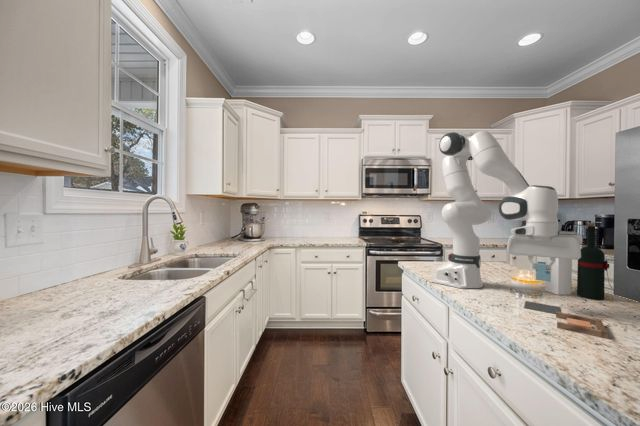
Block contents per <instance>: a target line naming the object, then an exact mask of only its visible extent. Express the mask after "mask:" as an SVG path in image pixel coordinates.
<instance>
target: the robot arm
mask: <svg viewBox="0 0 640 426" xmlns="http://www.w3.org/2000/svg"><path fill="white" fill-rule="evenodd" d="M439 151H440V152H441V154H442V155H445V157H444V158H443V159H442V161H441V169H442V176H443V181H444V184H445V188H446V192H447V194H448V195H449V196H450V197H451V198H453V199H454V201H453V202H448V203H446V204H444V206H443V207H442V209H441V217H442V220H443V221H444V223H446V224H447V225H448V228H449V230H450V232H451V236H452V252H450V253H449V254H448V255H447V259H448V260H446V262H444V263H443V264H441V265H439V266H438V267H437V268H436V270H435V274H434V275H433V276H431V277H430V278H429V279H430V280H429V281H430V282H431V283H435V284H440V285H443V286H444V285H445V286H449V287H452V288H457V289H463V290H464V289H481V288H483V287H484V284H483V280H482V277H481V266H482V265H481V264H482V263H481V262H482V259H481V254H480V247H481V246H480V245H481V244H480V242H481V241H480V238H479V236H478V235H476V233H475V232H474V229H473V227H474V226H475V225H476V226H479V225H482V224H485V223H486V222H488V221H489V220H490V219H491V216H492V210H491V209H490V207H489V206H488V205H487V203H485V202H483V200H482V199H481V198H480V195H478V193H477V192H476V190H475V187H474V185H473V182H472V180H471V176H470V172H469V169H468V165H467V161H472V160H473V162H474V164H475V167H476V168H477V169H478V170H479V171H480V172H481V173H482V174H483V175H487V176H489V177H493V178H495V179H497V180H499V181H501V182H502V183H504V184H505V185H506V186H507V187H508V189H509V190H510V192H511V193H512V194H511V195H509V196H506V197H504V198H502V199H501V200H500V202H499V204H498V213H499V214H500V216H501V217H502V218H503V219H505V220H507V221H516V222H517V221H522V222H523V221H524V222H525V225H521V226H518V227H514V228H512V229H511V230H510V232H511V235H510V236H509V238H508V240H507V245H506V246H507V247H506V252H507V253H508V255H517V256H527V258H528V261H529V262H530V263H531V269H533V270H534V269H535V270H536V269H537V262H534V257H539V258H541V257H543V258H546V257H550V260H551V262H550V264H549V265H547V264H546V270H551V266H552V265H553V264H554V262H555V261H556V258H563V259H572V260H575V261H576V260H577V261H578V259H580V258H581V245H582V244H583V235H582V234H580V233H579V232H577V231H565V230H564V231H563V230H561V231H560V230H559V219H558V217H557V216H558V212H559V198H558V197H559V195H558V192H557V189H556V188H554V187H552V186H549V185H538V184H537V185H535V184H534V185H530V184H529V183H528V181H527V180H526V179H525V177H524V176H523V175H522V173H521V172H520V171H519V169H518V168H517V167H516V166H515V164H513V162H512V161H511V160H510V158H509V157H508V155H507V154H506V153H505V151H504V149H503V148H502V145H501V144H500V142H499V141H498V139H496V138H495V136H494V135H493V134H492V133H490V132H489V131H487V130H481V131H477V132H475V133H472V132H467V131H466V132H465V131H464V132H447V133H445V134H444V135H443V136H441V139H440V140H439Z"/></svg>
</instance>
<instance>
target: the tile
mask: <svg viewBox="0 0 640 426" xmlns="http://www.w3.org/2000/svg"><path fill="white" fill-rule="evenodd" d="M566 323H568V324H573V325H578V326H583V327H588V328H592V329H593V327H592V325H591V324H590V323H589V322H587V321H582V320H576V319H571V318H567V320H566Z"/></svg>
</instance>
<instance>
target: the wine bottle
mask: <svg viewBox="0 0 640 426" xmlns="http://www.w3.org/2000/svg"><path fill="white" fill-rule="evenodd" d="M586 238H587V239H586V240H587V242H586V244H587V245H586V246H584V247H580V249H581V258H580V259H578V260H577V271H576V272H577V274H576V275H577V278H576V279H577V280H576V281H577V283H576V296H577V297H580V298H582V299H587V300H594V301H603V300H605V274H606V275H607V277H609V272H608V269H610V264H609V263H608V260H607V259H606V256H605V255H606V254H605V253H604V251H603V250H602V249H601V248H599V247H597V246H596V226H595V223H594V222H593V223H591V222H588V226H587V237H586ZM605 259H606V260H605ZM605 272H606V273H605ZM607 280H608V282H607V283H608V285H609V286H610V288H611V289H612V290H614V289H613V286H612V285H611V284H610V281H609V280H610V279H609V278H607Z"/></svg>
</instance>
